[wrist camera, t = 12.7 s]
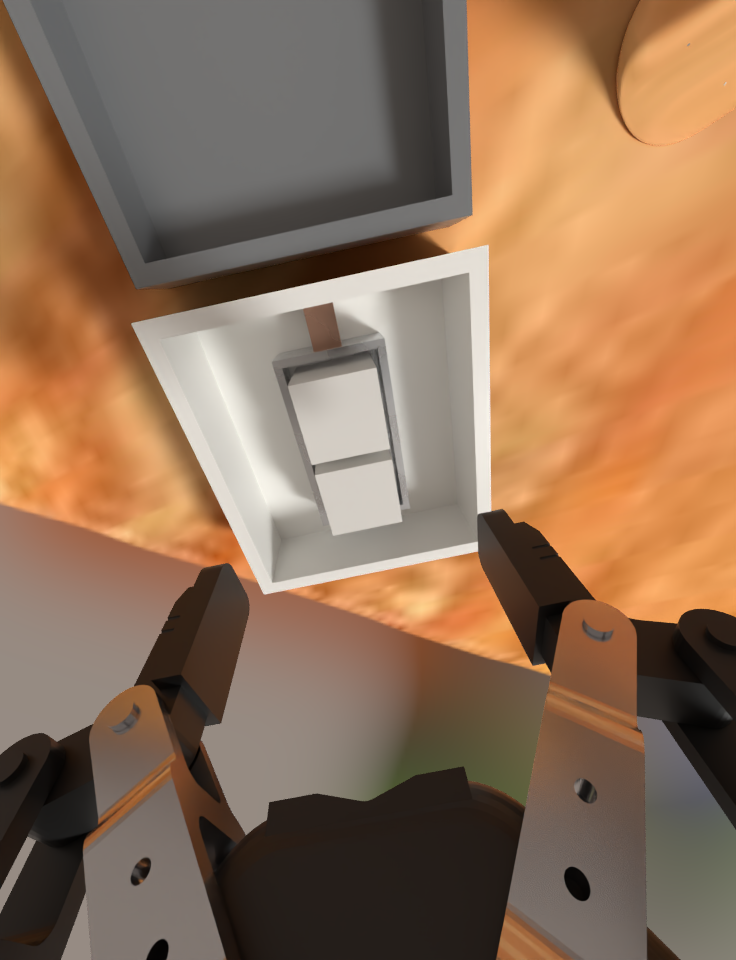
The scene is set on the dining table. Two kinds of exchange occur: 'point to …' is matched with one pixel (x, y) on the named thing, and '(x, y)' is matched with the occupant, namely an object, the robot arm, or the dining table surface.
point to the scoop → (331, 348)
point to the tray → (257, 124)
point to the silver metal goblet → (677, 68)
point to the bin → (269, 434)
